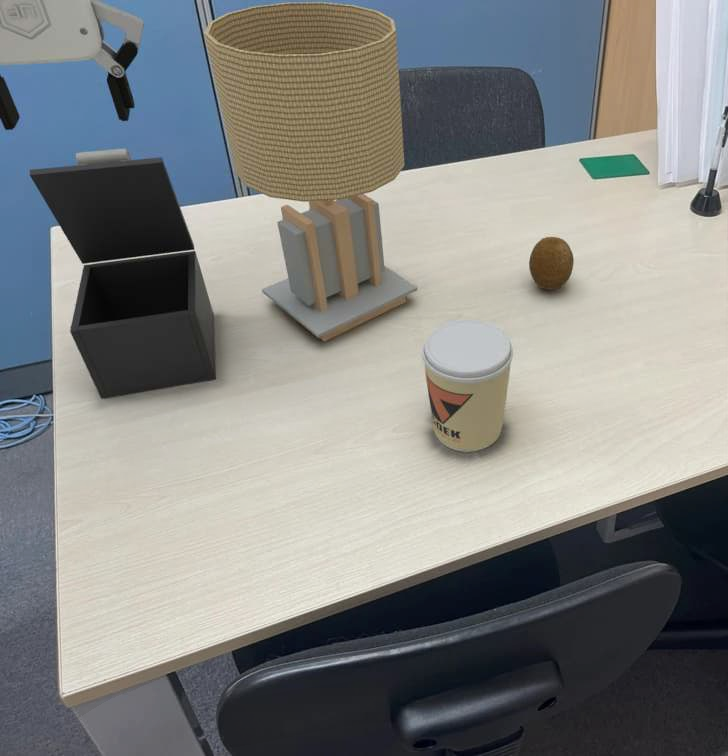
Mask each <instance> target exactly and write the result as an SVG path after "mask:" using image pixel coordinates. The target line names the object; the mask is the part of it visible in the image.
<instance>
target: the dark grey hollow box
mask: <svg viewBox="0 0 728 756" xmlns="http://www.w3.org/2000/svg"><path fill="white" fill-rule="evenodd" d="M69 332H70V335H71V337H72V339H73V341H74V343H75V346H76V348H77V350H78V352H79V354H80V356H81V358H82V361H83V362H84V365H85V367H86V369H87V372H88V374H89V376H90V378H91V380H92V382H93V385H94V386H95V388H96V389H95V390H97V392H98V395H99V397H100V399H101V400H103V399H108V398H114V397H120V396H125V395H126V396H127V395H131V394H137V393H144V392H149V391H156V390H161V389H166V388H173V387H178V386H184V385H191V384H196V383H200V382H207V381H212V380H216V379H217V365H216V364H217V363H216V338H215V337H216V335H215V313H214V310H213V307H212V304H211V300H210V296H209V293H208V290H207V286H206V283H205V280H204V276H203V273H202V269H201V265H200V262H199V259H198V255H197V252H196V250H189V251H181V252H173V253H165V254H157V255H149V256H141V257H134V258H126V259H118V260H110V261H102V262H94V263H87V264H83V268H82V272H81V277H80V281H79V287H78V290H77V297H76V301H75V305H74V310H73V315H72V320H71V324H70V329H69Z"/></svg>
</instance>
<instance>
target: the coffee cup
mask: <svg viewBox="0 0 728 756" xmlns="http://www.w3.org/2000/svg"><path fill="white" fill-rule="evenodd" d="M421 347H422V348H421V358H422V361H423V363H424V370H425V371H424V372H425V379H426V385H427V393H428V401H429V407H430V414H431V420H432V426H433V427H432V428H433V432H434V434H435V436H436V438H437V440H438V441H439V442H440V443H441V444H442V445H443V446H445V447H447V448H449V449H451V450H453V451H458V452H462V453H463V452H464V453H467V452H468V453H469V452H472V453H473V452H476V451H481V450H484V449H486V448H488V447H490V446H492V445H493V444H494V443H495V442H497V440H498V438H499V437H500V435H501V433H502V429H503V423H504V416H505V410H506V403H507V395H508V389H509V380H510V374H511V364H512V361H513V358H514V357H513V356H514V348H513V343H512V341H510V339H509V337H508V335H507V334H506V333H505V331H504V330H502V329H501V328H500V327H499V326H497V325H496V324H494V323H491V322H489V321H485V320H481V319H474V318H461V319H454V320H450V321H447V322H444V323H442V324H440V325H438V326H437V327H435V328H434V329H432V330H431V331H430V332H429V334H428V335H427V337H426V339H425V340H424V342H423V344H422V346H421Z"/></svg>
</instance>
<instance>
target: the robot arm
mask: <svg viewBox="0 0 728 756" xmlns="http://www.w3.org/2000/svg"><path fill="white" fill-rule="evenodd" d="M102 22H103V23H107V24H108V25H111V26H114V27H116V28H119V29H120V30H122V31H123V32H124V34H125V35H124V41H123V42H122V45H121V46H120V47H119V49H118V50H116V49H114V48H113V47H112V46H111V45H109V43H107V42H106V41H105V32H104V27H103V24H102ZM144 27H145V23H144V21H143V19H142V18H141V17H138V16H136V15H135V14H131V13H129V12H127V11H124V10H121V9H119V8H117V7H115V6H112V5H110V4H108V3H105V2H104V1H103V2H102V1H100V0H0V66H20V65H21V66H22V65H36V64H37V65H38V64H39V65H40V64H56V63H57V64H58V63H70V62H71V63H73V62H83V61H88V60H92V61H94V62H95V63H96V64H97V65H99V66H100V67H101V68H102V69H104V70H105V71H106V72H107V76H106V83H107V86H108V90H109V93H110V96H111V99H112V102H113V105H114V108H115V111H116V115H117V118H118V120H119V121H121V122H128V121H129V119H130V113H131V109H135V107H136V106H135V99H134V97H133V93H132V89H131V86H130V83H129V80H128V77H127V74H126V72H127V70H128V69H129V67H130V66H131V64H132V63H133V61H134V60H135V59H136V57H137V56H138V52H139V49H140V46H141V45H140V44H141V41H142V40H141V39H142V35H143V33H144ZM20 118H21V117H20V113H19V111H18V108H17V106H16V104H15V101H14V99H13V97H12V94H11V92H10V89H9V87H8V84H7V82H6V80H5V78H4V76H2V75H1V74H0V121H1V123H2V127H3V128H4V130H5V131H13V130H14V129H15V128H16V127H17V125H18V122H19V120H20Z"/></svg>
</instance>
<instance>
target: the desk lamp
mask: <svg viewBox="0 0 728 756" xmlns="http://www.w3.org/2000/svg"><path fill="white" fill-rule="evenodd" d="M203 35H204V38H205V43H206V47H207V52H208V56H209V60H210V65H211V70H212V73H213V78H214V82H215V87H216V91H217V96H218V98H219V104H220V109H221V113H222V118H223V123H224V126H225V130H226V135H227V139H228V143H229V144H228V145H229V149H230V152H231V157H232V161H233V165H234V169H235V174H236V176H237V177H238V178H239V179H240V181H241V182H242V183H243V184H244V186H245V187H246V188H247V189H249V190H252V191H255V192H257V193H260V194H262V195H264V196H266V197H268V198H273V199H274V198H275V199H282V200H287V201H295V202H296V201H297V202H302V203H303V202H304V203H305V202H308V206H309V210H306V211H303V212H299V211H298V210H296V209H295V208H293V207H292V206H290V205H289V204H286V205H285V204H284V205H283V206H280V211H281V216H282V219H281V220H278V221H277V228H278V233H279V239H280V243H281V248H282V254H283V258H284V263H285V268H286V273H287V278H286V279H282V280H280V281H278V282H275V283H273V284H271V285H267V286H266V287H263V288H262V289H261V292H262V293H263V294H264V296H266V297H268V298H269V299H270V300H271V301H272V302H273V303H275V304H276V305H277V306H278V307H280V308H281V309H282V310H283V311H284V312H286V313H287V314H288V315H289V316H291V317H292V319H294V320H296V322H298V323H299V324H300V325H302V326H303V327H304V328H305V329H307V330H308V331H309V333H312V335H314V336H315V337H316V338H318V339H319V340H321V341H322V342H327V341H329V340H330V339H333V338H335V337H337V336H339V335H341V334H344V333H345V332H347V331H349V330H352V329H353V328H355V327H358V326H359V325H361V324H363V323H365V322H368V321H369V320H372V319H374V318H376V317H378V316H380V315H383V314H384V313H386V312H389V311H390V310H393V309H395V308H396V307H398V306H400V305H403V304H405V303H407V296H408V295H410V294H413V293H414V292H416V291H418V287H417V286H416V285H414V284H413V283H411V282H410V281H408V280H407V279H405V278H404V277H402V276H400V274H398V273H397V272H395V271H394V270H392V269H390V268H389V267H388V266H386V265H385V258H384V257H385V256H384V248H383V237H382V226H381V225H382V224H381V213H380V204H379V202H377V201H376V200H374V199H373V198H371V197H369V196H367V194H369V193H372V192H374V191H376V190H378V189H380V188H382V187H384V186H385V185H387V184H389V183H391V182H393V181H395V179H396V178H397V177H398V176H399V174H400V173H401V172H402V170H403V169H404V167H405V165H406V164H405V152H404V149H405V148H404V134H403V119H402V102H401V101H402V100H401V87H400V71H399V70H400V69H399V57H398V56H399V55H398V54H399V53H398V39H397V29H396V25H395V20H394V19H393V18H391V17H389V16H387V15H386V14H385V13H382V12H381V11H379V10H375V9H370V8H367V7H362V6H358V5H354V4H345V3H335V2H324V1H316V2H315V1H312V2H311V1H310V2H308V1H307V2H305V1H304V2H300V1H299V2H279V3H272V4H264V5H256V6H250V7H246V8H243V9H239V10H235V11H231V12H226V13H224V15H221V16H219V17H217V18H216V19H213V20H212V21H209V22H208V24H207V27H206V28H205V30H204V34H203Z"/></svg>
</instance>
